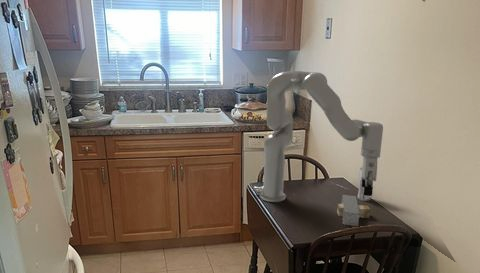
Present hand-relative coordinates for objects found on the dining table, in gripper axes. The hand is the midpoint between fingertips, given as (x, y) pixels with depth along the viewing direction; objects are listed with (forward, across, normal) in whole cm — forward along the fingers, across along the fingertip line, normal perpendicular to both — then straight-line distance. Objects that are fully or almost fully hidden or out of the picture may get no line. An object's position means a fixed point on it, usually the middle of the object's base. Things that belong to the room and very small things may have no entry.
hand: (366, 191), depth 158 cm
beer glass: (+12, +22, -2) cm, 25 cm away
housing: (+12, 0, +6) cm, 14 cm away
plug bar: (+12, +1, +4) cm, 13 cm away
